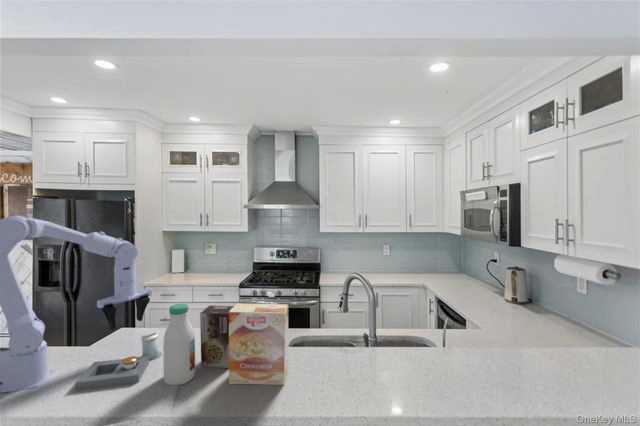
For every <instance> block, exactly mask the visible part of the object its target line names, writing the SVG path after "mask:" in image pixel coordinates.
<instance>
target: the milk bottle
mask: <svg viewBox="0 0 640 426" xmlns="http://www.w3.org/2000/svg"><path fill="white" fill-rule="evenodd" d="M168 312H169V316H170V319H169V323H168V325H167V328H166V330H165V333H164V335H163V352H162V355H163V382H164V383H165V384H167V385H168V386H182V385H185V384H187V383H189V382H190V381H192V379H194V377H195V375H196V349H195V348H196V344H195V343H196V341H195V340H196V339H195V331H194V328H193V326H192V323H191V322H190V319H189V317H188V314H189V304H188V303H176V304H175V303H174V304H173V305H171V306H169V311H168Z"/></svg>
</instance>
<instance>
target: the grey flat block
mask: <svg viewBox="0 0 640 426" xmlns="http://www.w3.org/2000/svg"><path fill="white" fill-rule="evenodd" d="M136 357H137V356H136ZM124 359H125V358H120V359H118V358H117V359H110V360H101V361H94V362H93V363H92V364H91V365H90V366H89V367H88V368H87V369H86V371H85V372H84V373H83V374H82V375H81V376H80V378H78V379H77V381H76V382H75V391H76V392H77V391H84V390H86V391H87V390H92V389H93V390H94V389H99V388H106V387H114V386H121V385H128V384H129V385H130V384H137V383H140V381H141V379H142V377H143V375H144V373H145V371H146V369H147V368H148V366H149V364H150V361H149V356H144V357H141V356H138V357H137V360H136V369H132V370H124V369H123V363H122V361H123V360H124Z"/></svg>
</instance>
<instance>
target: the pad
mask: <svg viewBox="0 0 640 426" xmlns="http://www.w3.org/2000/svg"><path fill="white" fill-rule="evenodd" d="M162 356H163V352H161V351H159V350H157V357H155V358H154V359H151V360H149V362H151V361H155V360H158V359H159V358H160V357H162ZM140 357H142V355H141V356H140Z"/></svg>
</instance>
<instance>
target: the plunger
mask: <svg viewBox="0 0 640 426" xmlns="http://www.w3.org/2000/svg"><path fill="white" fill-rule="evenodd" d="M123 359H124V360H123V361H122V363H123V369H124V370H132V369H136V360H137V356H135V355H134V356H131V355H130V356H129V357H126V358H123Z"/></svg>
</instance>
